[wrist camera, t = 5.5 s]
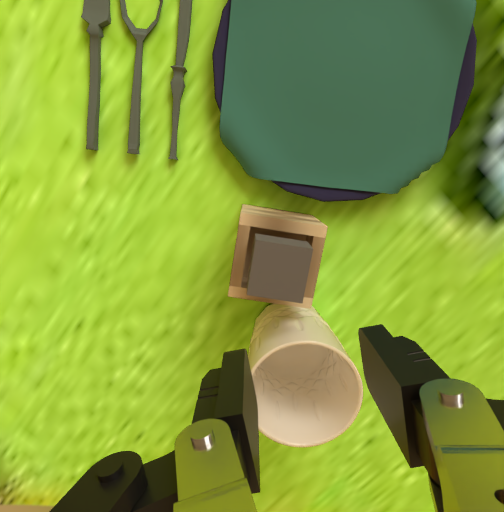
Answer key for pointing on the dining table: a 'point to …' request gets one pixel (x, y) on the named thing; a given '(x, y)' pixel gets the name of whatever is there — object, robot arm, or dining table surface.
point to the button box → (278, 226)
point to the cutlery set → (321, 88)
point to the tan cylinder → (301, 377)
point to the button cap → (279, 268)
